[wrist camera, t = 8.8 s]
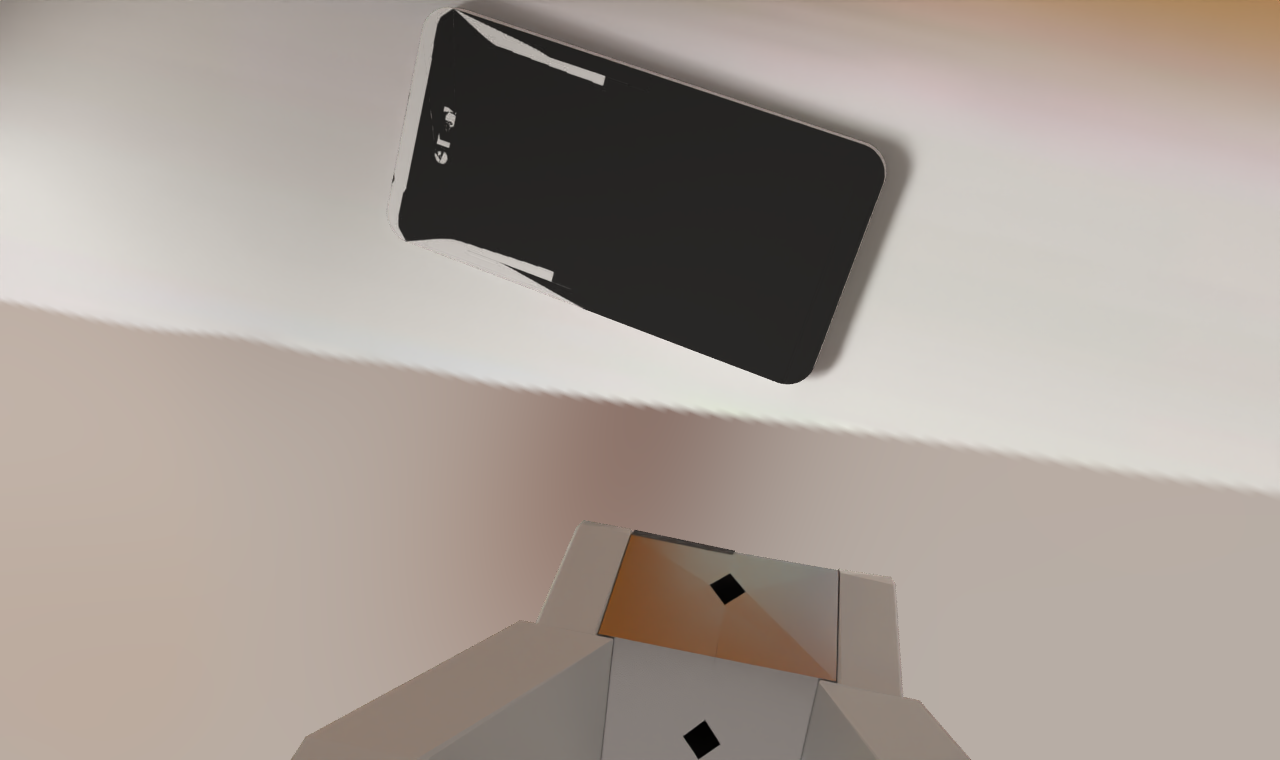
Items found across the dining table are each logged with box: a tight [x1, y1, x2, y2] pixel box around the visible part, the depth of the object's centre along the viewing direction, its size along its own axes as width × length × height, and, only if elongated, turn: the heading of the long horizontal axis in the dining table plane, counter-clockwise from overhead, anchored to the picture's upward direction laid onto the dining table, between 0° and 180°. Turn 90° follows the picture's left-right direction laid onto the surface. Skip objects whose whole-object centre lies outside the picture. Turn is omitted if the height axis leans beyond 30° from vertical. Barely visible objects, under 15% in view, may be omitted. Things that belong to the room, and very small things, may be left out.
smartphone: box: [387, 7, 886, 384], centre depth 32 cm, size 8×1×15 cm
